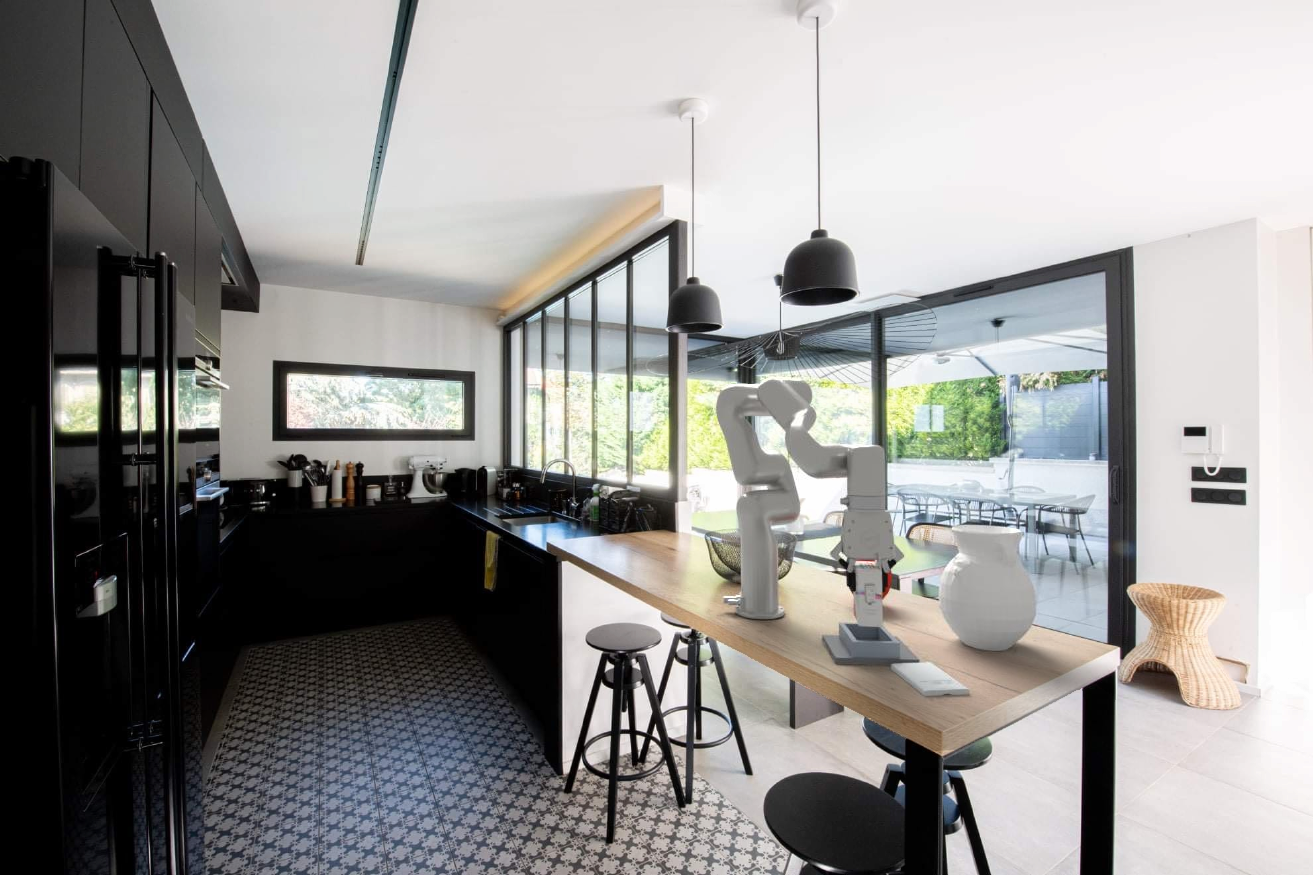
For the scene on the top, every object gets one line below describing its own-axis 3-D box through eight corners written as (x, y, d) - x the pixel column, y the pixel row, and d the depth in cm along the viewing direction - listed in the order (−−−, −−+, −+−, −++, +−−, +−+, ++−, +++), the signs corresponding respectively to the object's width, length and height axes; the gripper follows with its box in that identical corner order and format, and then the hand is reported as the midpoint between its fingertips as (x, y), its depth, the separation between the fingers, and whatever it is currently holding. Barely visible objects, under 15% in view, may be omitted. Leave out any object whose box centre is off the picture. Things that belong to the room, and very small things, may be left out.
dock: (835, 663, 117) (835, 642, 117) (822, 640, 131) (822, 621, 131) (919, 665, 115) (919, 644, 116) (896, 641, 129) (896, 622, 129)
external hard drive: (931, 670, 115) (970, 697, 102) (890, 671, 114) (924, 699, 102) (931, 661, 115) (969, 687, 102) (890, 663, 114) (924, 689, 102)
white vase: (1058, 657, 120) (1057, 533, 120) (971, 660, 118) (969, 535, 119) (999, 628, 138) (997, 521, 138) (923, 630, 137) (921, 523, 137)
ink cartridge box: (852, 614, 128) (851, 546, 128) (876, 615, 127) (875, 547, 127) (857, 626, 120) (856, 553, 120) (883, 627, 119) (882, 554, 119)
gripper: (827, 505, 121) (828, 594, 120) (914, 505, 119) (915, 595, 119) (821, 501, 128) (821, 585, 128) (902, 502, 127) (903, 586, 126)
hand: (867, 589), depth 123 cm, fingers closed on ink cartridge box, 5 cm apart
